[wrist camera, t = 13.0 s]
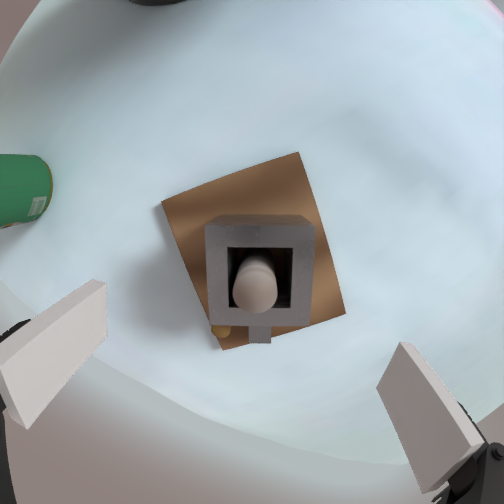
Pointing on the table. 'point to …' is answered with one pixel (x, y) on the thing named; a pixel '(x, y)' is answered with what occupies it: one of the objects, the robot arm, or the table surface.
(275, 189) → the post base
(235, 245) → the grey hollow square block
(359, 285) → the table surface
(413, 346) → the robot arm
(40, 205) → the beverage can
